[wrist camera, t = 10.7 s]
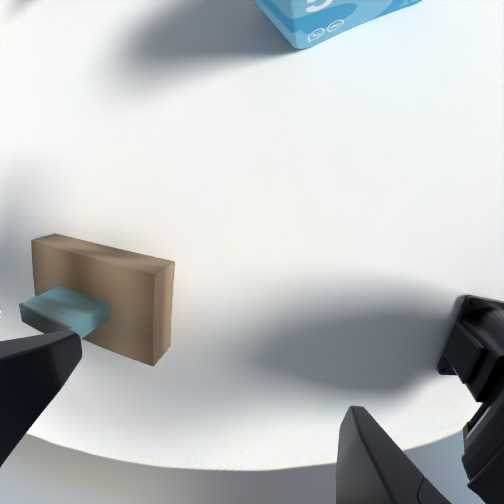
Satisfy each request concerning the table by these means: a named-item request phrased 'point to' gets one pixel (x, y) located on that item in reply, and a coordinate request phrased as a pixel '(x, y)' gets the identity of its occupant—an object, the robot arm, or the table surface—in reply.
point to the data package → (323, 17)
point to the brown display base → (102, 296)
